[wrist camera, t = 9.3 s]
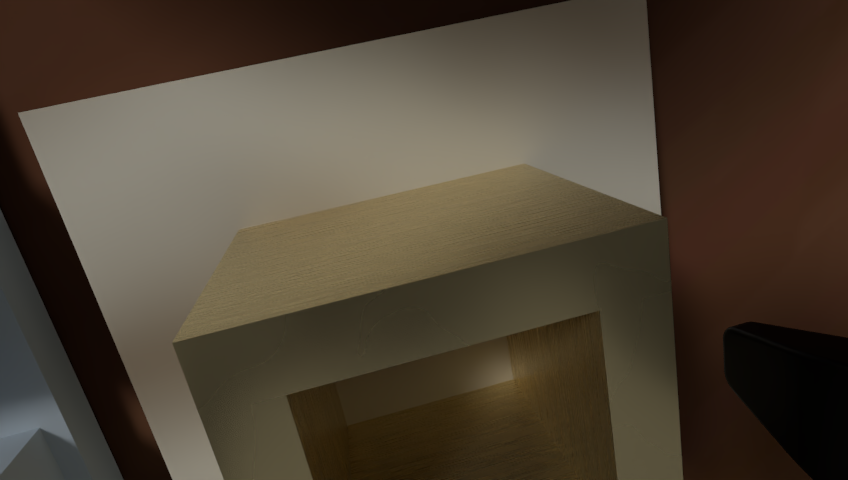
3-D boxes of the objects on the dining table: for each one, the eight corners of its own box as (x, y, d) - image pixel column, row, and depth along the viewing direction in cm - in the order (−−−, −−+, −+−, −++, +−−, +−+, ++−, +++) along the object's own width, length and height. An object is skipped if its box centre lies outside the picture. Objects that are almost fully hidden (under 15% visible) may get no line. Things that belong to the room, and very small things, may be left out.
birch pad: (656, 444, 15) (678, 467, 14) (233, 574, 14) (227, 609, 13) (619, -7, 12) (645, -15, 11) (45, 110, 10) (17, 112, 10)
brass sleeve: (557, 403, 13) (689, 580, 8) (315, 473, 13) (310, 708, 8) (524, 163, 11) (667, 218, 7) (238, 229, 11) (172, 342, 6)
